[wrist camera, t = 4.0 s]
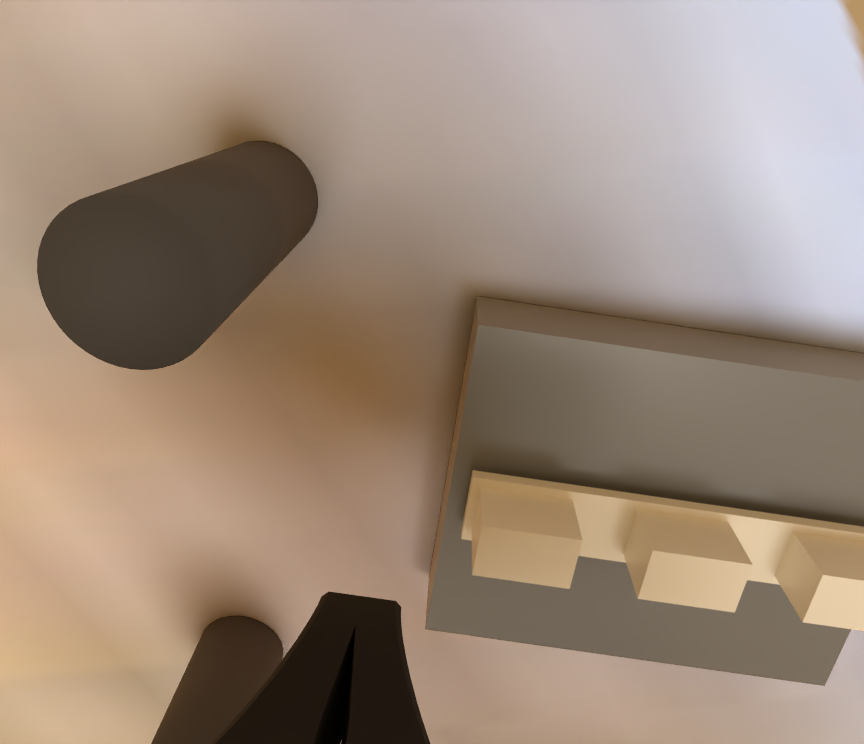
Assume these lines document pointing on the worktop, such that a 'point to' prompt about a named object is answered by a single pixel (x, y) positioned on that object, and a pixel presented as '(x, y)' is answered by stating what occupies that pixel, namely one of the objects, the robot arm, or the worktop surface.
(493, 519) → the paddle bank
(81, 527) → the worktop surface
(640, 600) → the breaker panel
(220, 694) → the post
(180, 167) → the post
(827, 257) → the worktop surface
